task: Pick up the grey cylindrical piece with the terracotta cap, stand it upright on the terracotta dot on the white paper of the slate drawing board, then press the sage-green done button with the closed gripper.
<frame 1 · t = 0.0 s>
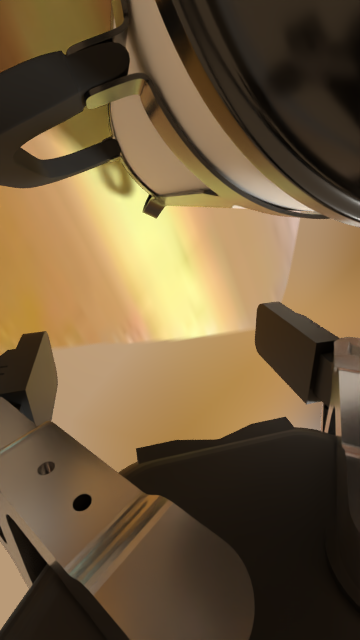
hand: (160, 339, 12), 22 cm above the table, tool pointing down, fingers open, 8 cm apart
coffee press: (168, 142, 28), point 1 cm above the table
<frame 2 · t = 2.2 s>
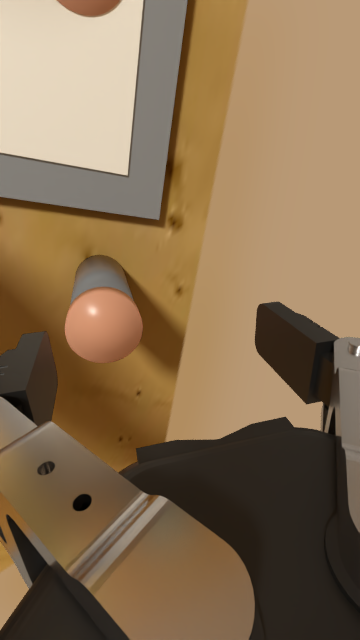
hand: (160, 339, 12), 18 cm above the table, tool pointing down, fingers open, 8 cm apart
grey cylindrical piece: (100, 279, 29), on the table
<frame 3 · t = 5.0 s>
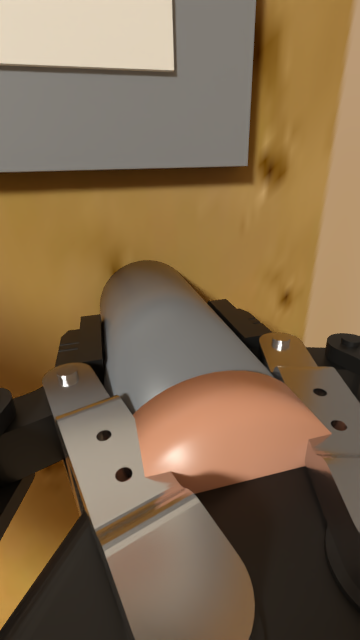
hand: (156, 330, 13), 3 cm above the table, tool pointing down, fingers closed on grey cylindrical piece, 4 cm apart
grey cylindrical piece: (146, 305, 15), on the table, touching gripper
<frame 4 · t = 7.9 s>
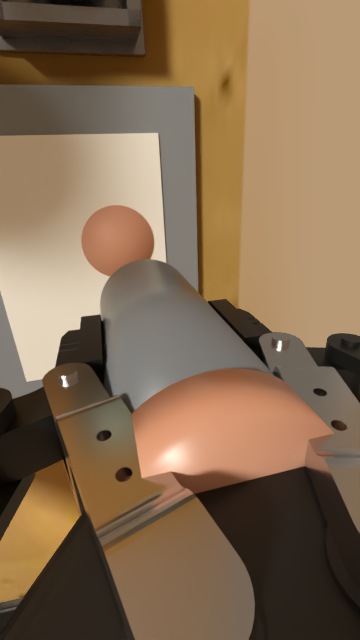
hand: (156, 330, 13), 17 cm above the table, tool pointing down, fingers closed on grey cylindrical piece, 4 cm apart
grey cylindrical piece: (147, 304, 15), point 15 cm above the table, touching gripper
phone: (0, 615, 44), on the table
drawing board: (86, 266, 28), on the table
when the fingers open (6 cm above the table, at t = 11.1 s): grey cylindrical piece drops 1 cm, resting on drawing board.
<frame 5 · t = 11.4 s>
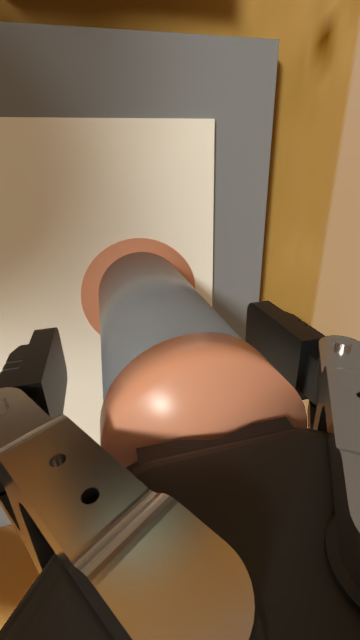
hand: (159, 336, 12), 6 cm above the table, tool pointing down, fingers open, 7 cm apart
grey cylindrical piece: (141, 294, 17), point 1 cm above the table, touching drawing board
drawing board: (87, 328, 18), on the table
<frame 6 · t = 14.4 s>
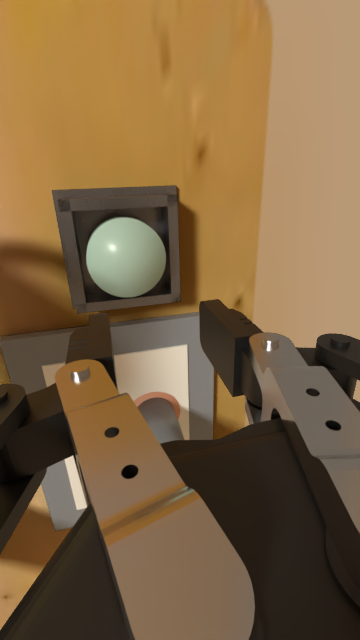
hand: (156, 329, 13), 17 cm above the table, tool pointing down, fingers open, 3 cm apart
done button: (126, 257, 25), point 3 cm above the table, slide at 0.0 cm
button housing: (122, 248, 28), on the table
grey cylindrical piece: (154, 414, 35), point 1 cm above the table, touching drawing board
drawing board: (126, 426, 36), on the table
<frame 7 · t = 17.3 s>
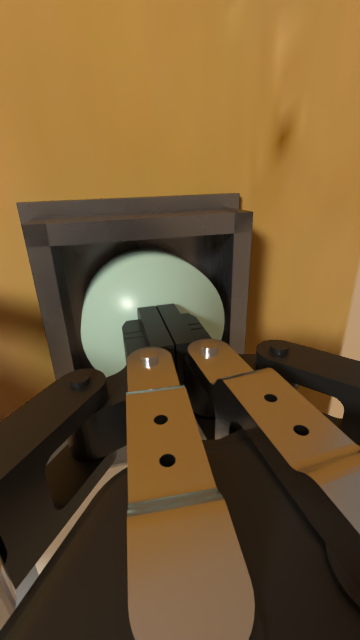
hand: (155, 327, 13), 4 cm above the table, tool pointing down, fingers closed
done button: (152, 320, 14), point 3 cm above the table, slide at 0.7 cm, touching gripper
button housing: (143, 299, 17), on the table
drawing board: (142, 545, 24), on the table
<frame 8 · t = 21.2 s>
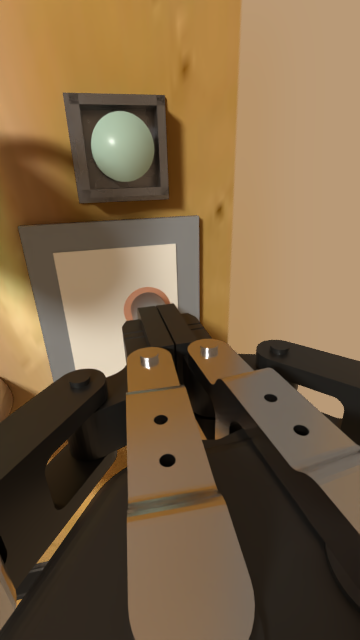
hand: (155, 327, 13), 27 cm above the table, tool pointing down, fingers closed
done button: (122, 148, 31), point 3 cm above the table, slide at 0.7 cm
button housing: (120, 151, 34), on the table
grey cylindrical piece: (148, 308, 40), point 1 cm above the table, touching drawing board
phone: (44, 572, 58), on the table
drawing board: (124, 322, 42), on the table
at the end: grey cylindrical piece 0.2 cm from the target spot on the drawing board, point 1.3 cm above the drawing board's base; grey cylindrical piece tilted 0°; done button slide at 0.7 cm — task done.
